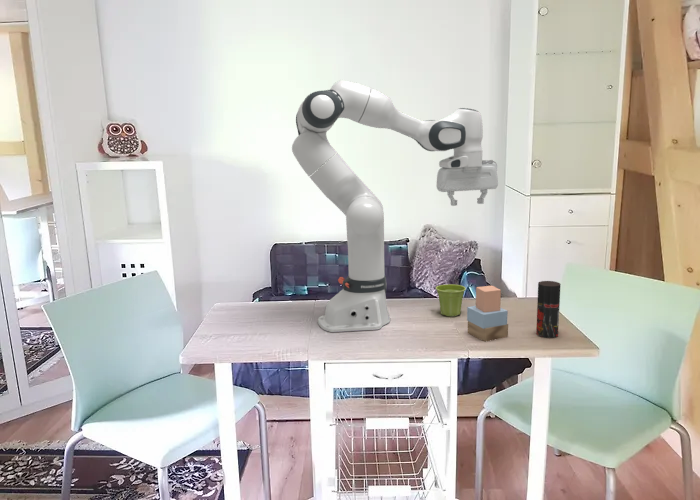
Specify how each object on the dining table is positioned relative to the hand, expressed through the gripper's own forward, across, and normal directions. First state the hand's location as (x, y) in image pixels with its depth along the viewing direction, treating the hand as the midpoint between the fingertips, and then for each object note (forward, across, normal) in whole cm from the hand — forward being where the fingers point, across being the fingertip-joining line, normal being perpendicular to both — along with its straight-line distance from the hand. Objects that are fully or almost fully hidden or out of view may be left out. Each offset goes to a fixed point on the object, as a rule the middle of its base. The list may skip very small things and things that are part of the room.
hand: (467, 204), depth 188 cm
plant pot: (+34, +8, +5) cm, 36 cm away
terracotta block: (+26, +7, +26) cm, 38 cm away
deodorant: (+34, -9, +32) cm, 48 cm away
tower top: (+30, +7, +26) cm, 41 cm away
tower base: (+34, +7, +26) cm, 44 cm away
